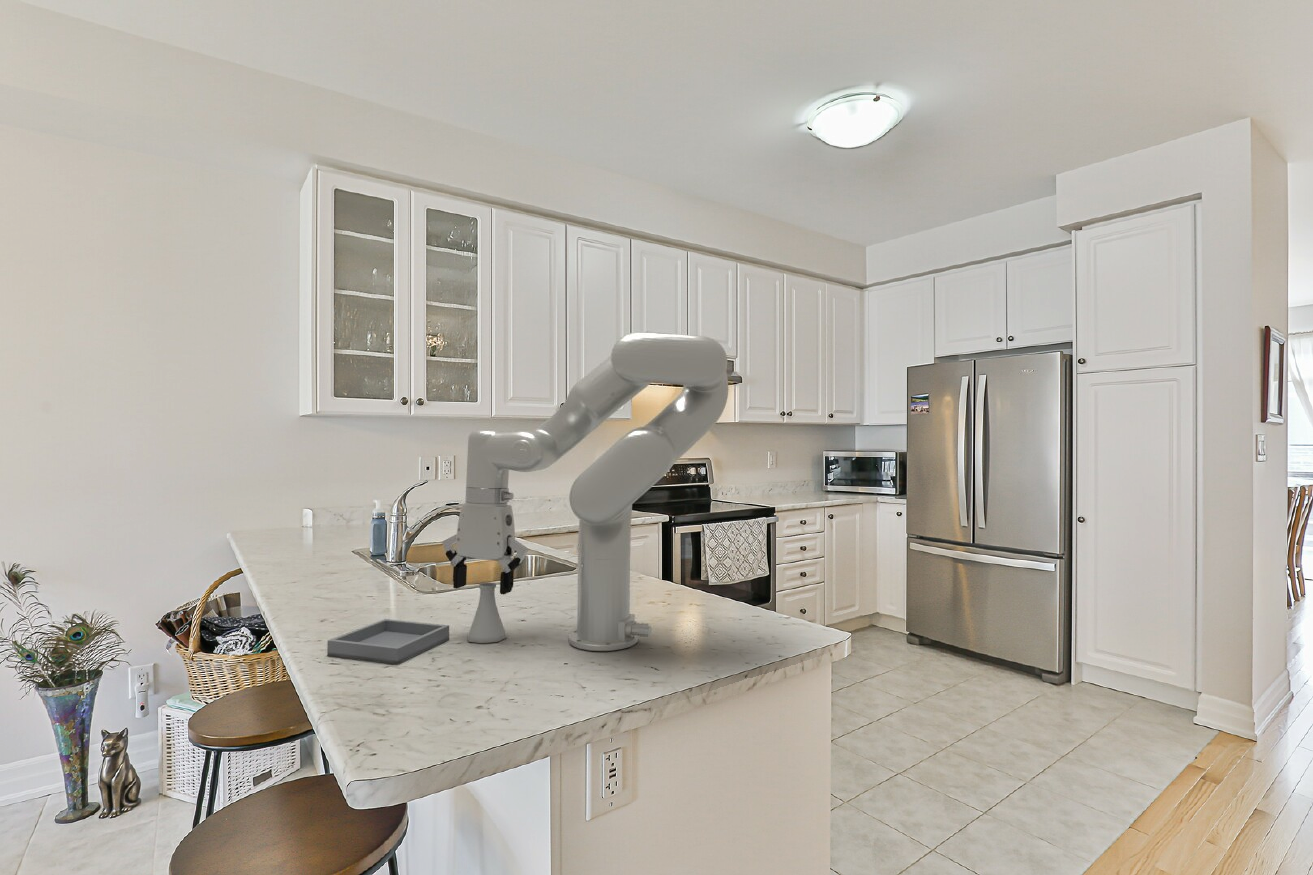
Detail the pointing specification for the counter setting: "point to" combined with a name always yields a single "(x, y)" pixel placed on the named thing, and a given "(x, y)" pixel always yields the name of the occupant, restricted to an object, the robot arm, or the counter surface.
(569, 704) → the counter surface
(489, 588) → the flask
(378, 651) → the tray
